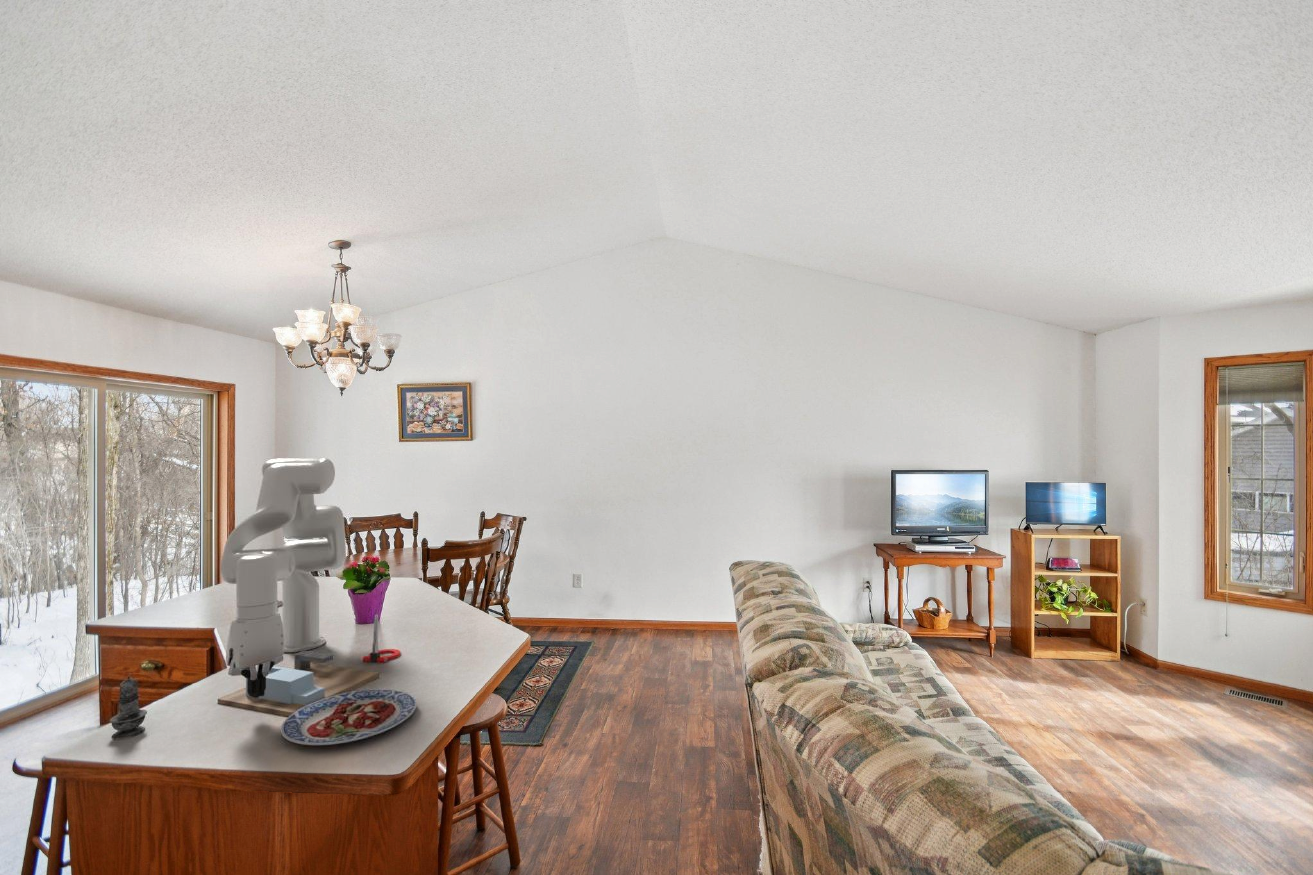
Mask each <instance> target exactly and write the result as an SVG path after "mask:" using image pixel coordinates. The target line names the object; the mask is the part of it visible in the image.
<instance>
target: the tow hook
mask: <svg viewBox="0 0 1313 875" xmlns="http://www.w3.org/2000/svg"><path fill="white" fill-rule="evenodd" d="M379 623H380V622H379V614H375V615H374V622H373V636H372V638H373V641H372V647H371V648H372V650H371V652H369V653H368V655H367V656H366V655H364V656H363V657H362V661H363V662H368V663H369V662H370V663H387V661H388V660H393V659H396V658H398V657H400V656H401V651H400V650H399V649H394V648H386V649H380V650H379V645H380V644H379V643H380V642H379V626H380V625H379ZM382 654H383V656H381V655H382ZM384 654H390V655H384Z"/></svg>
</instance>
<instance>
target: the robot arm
mask: <svg viewBox="0 0 1313 875" xmlns="http://www.w3.org/2000/svg"><path fill="white" fill-rule="evenodd" d="M261 473H262V480H261V485H260V490H259V494H258V498H257V503H256V508H255V511H254V513H252V514H251V515H249V516H248V517H246V518H245V519H244V520H242V521H241V522H240V523H239V524H237V525H236V527H235V528H234V529H233V530H232V531H231V532H230V534H229V535H228V537H227V538H226V541H225V545H224V548H223V552H222V556H221V562H220V567H219V571H220V578H221V579H222V581H223V582H225V583H226V584H230V585H236V590H235V591H236V594H235V596H236V600H235V601H236V602H235V610H236V611H235V616H236V617H235V618H236V619H234V620H232V621H231V623H230V626H229V629H228V635H227V641H226V652H225V653H226V654H225V663H226V666H228V667H229V669H228V673H227V674H228V675H229V676H231V677H232V676H233V677H236V676H242V677H244V678H245V679H246V678H247V692H248V694H249V696H251V697H254V698H258V697H259V696H264V694H265V689H266V676H268V674H269V671H270V670H271V669H272V667H273V666H276V665H278V664H279V663H281V662H283V661H284V655H285V653H297V652H298V653H300V652H303V651H310V650H313V649H316V648H319V647H320V646H323V645H324V644H325V643H326V638H325V636H323V635H320V585H319V581H318V579H317V578H315V576H313V574H312V573H311V572H318V571H331V570H337V569H340V568H342V567H343V566H344V564H345V562H346V554H347V552H346V550H347V549H346V548H347V547H346V533H345V532H346V531H345V519H344V513H343V510H342V509H341V508H340V507H339V506H336V505H316V504H315V495H321V494H324V493H326V491H328V490H329V488H331V486H332V485H333V483H334V480H335V476H336V468H335V466H334V463H333V461H332V460H331V459H329V458H321V457H319V458H318V457H315V458H313V457H312V458H300V457H299V458H297V457H295V458H273V459H269V460H267V461H265V462H264V463H263V464H262V466H261ZM281 528H282V532H283V535H284V536H285V538H287V539H293V540H290V541H288V542H285V543H284V544H282V545H281V546H280V547H279V548H278V547H277V548H262V549H261V548H259V549H258V548H257V549H244V548H245V547H246V546H247V545H248V544H249V543H251V542H252V541H253V540H255V539H257V538H259V537H261V536H265V535H266V534H269V533H271V532H274V531H276V530H279V529H281ZM280 581H281V583H282V584H281V585H282V587H281V588H282V589H281V590H282V592H281V594H282V595H281V597H282V598H281V600H279V599H278V582H280ZM281 607H282V608H281ZM279 608H281V609H282V615H281V613H279Z"/></svg>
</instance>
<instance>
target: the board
mask: <svg viewBox="0 0 1313 875" xmlns="http://www.w3.org/2000/svg"><path fill="white" fill-rule="evenodd" d="M303 671H309V672H313V673H314V686H316V687H323V688H325V696H324V697H322V698H320V699H318V700H316V701H319V700H322V699H325V698H328V697H331V696H335V695H339V694H343V693H348V692H352V691H353V690H355V689H357V688H359V687H361V686H363V685H365V684H367V683H369V682H371V681H374V680H375V679H377V678H379V676H380V674H379V672H375V671H370V670H369V671H367V670H361V669H353V668H348V667H340V666H334V665H327V664H322V663H315V662H310V668H308V669H305V670H303ZM316 701H314V702H316ZM314 702H312V703H314ZM312 703H310V704H312ZM217 704H220V705H226V706H230V707H236V708H242V709H246V710H247V709H248V710H253V711H257V712H258V711H259V712H263V713H269V714H275V715H278V716H285V717H289V716H290V715H292V714H293V713H295V712H296V711H298V710H299V709H301V708H303V707H305V706H307V705H309V704H307V705H301V704H295V703H291V704H288V703H282V702H277V701H271V700H265V699H260V698H254V697H248V696H246V687H244V688H242V689H241V688H240V689H239V690H237V691H234V692H232V693H229V694H226V695H224V696H221V697H219V698H217Z"/></svg>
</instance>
